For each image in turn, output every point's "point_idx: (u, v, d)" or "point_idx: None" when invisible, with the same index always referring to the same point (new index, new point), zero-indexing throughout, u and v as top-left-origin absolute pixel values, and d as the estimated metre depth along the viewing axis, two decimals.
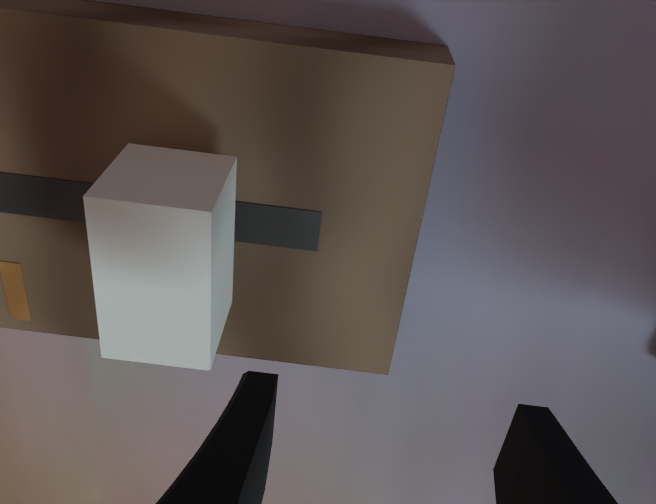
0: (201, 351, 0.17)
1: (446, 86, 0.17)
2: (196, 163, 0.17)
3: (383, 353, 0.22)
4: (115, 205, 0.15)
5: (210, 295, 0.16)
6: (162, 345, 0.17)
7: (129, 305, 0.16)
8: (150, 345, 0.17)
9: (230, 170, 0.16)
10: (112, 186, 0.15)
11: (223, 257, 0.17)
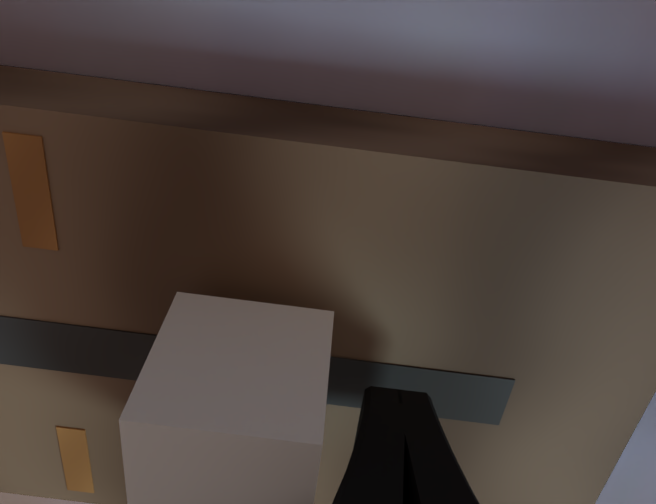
0: None
1: None
2: (280, 330, 0.11)
3: None
4: (169, 432, 0.09)
5: None
6: None
7: None
8: None
9: (330, 341, 0.11)
10: (162, 392, 0.10)
11: None
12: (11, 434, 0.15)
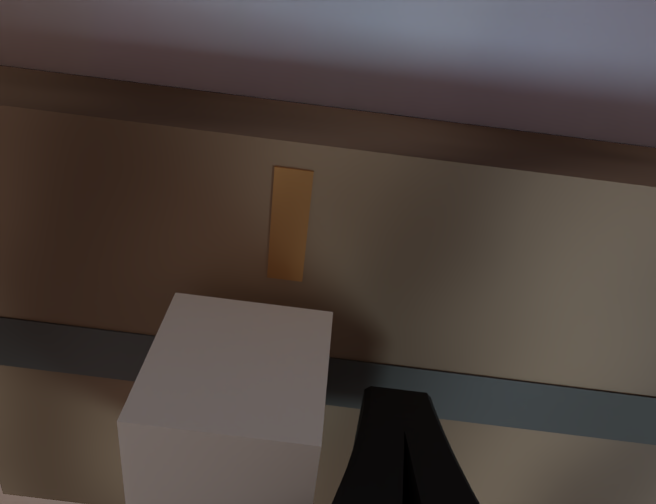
0: None
1: None
2: (278, 330, 0.11)
3: None
4: (167, 433, 0.09)
5: None
6: None
7: None
8: None
9: (329, 342, 0.11)
10: (161, 393, 0.10)
11: None
12: None
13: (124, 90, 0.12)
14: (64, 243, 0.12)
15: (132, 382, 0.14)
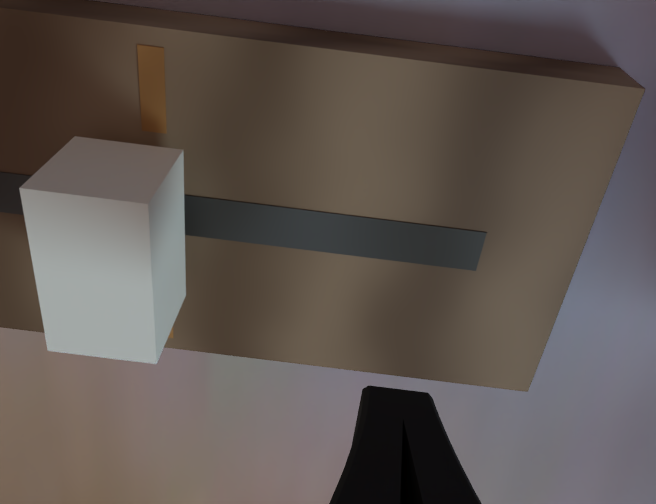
0: (146, 344, 0.17)
1: (632, 109, 0.17)
2: (140, 156, 0.17)
3: (527, 370, 0.22)
4: (52, 196, 0.15)
5: (152, 288, 0.16)
6: (107, 338, 0.17)
7: (71, 298, 0.16)
8: (95, 338, 0.17)
9: (174, 163, 0.16)
10: (51, 178, 0.15)
11: (169, 250, 0.17)
12: None
13: None
14: (0, 106, 0.18)
15: None
